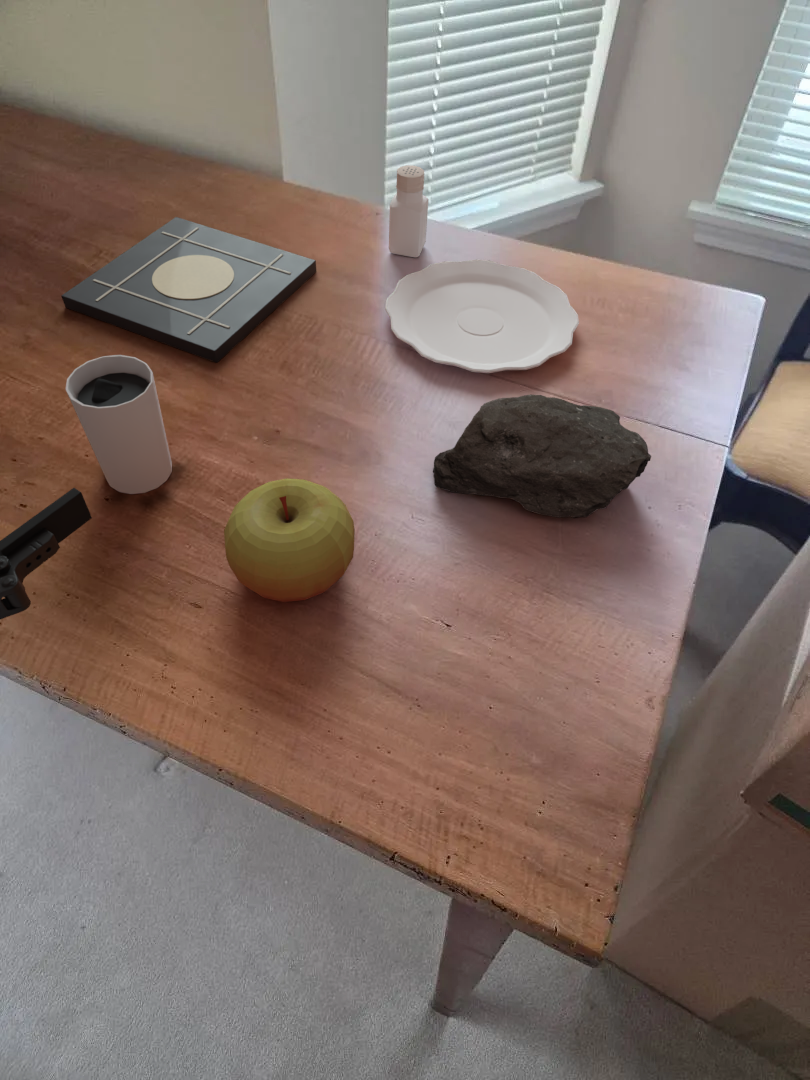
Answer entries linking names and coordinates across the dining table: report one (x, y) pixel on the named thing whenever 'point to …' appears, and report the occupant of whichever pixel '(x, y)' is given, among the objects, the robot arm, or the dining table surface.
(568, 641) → the dining table surface
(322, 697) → the dining table surface
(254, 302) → the board
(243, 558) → the apple
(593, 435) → the stone
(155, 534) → the dining table surface
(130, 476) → the white cup
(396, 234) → the salt shaker
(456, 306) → the plate
